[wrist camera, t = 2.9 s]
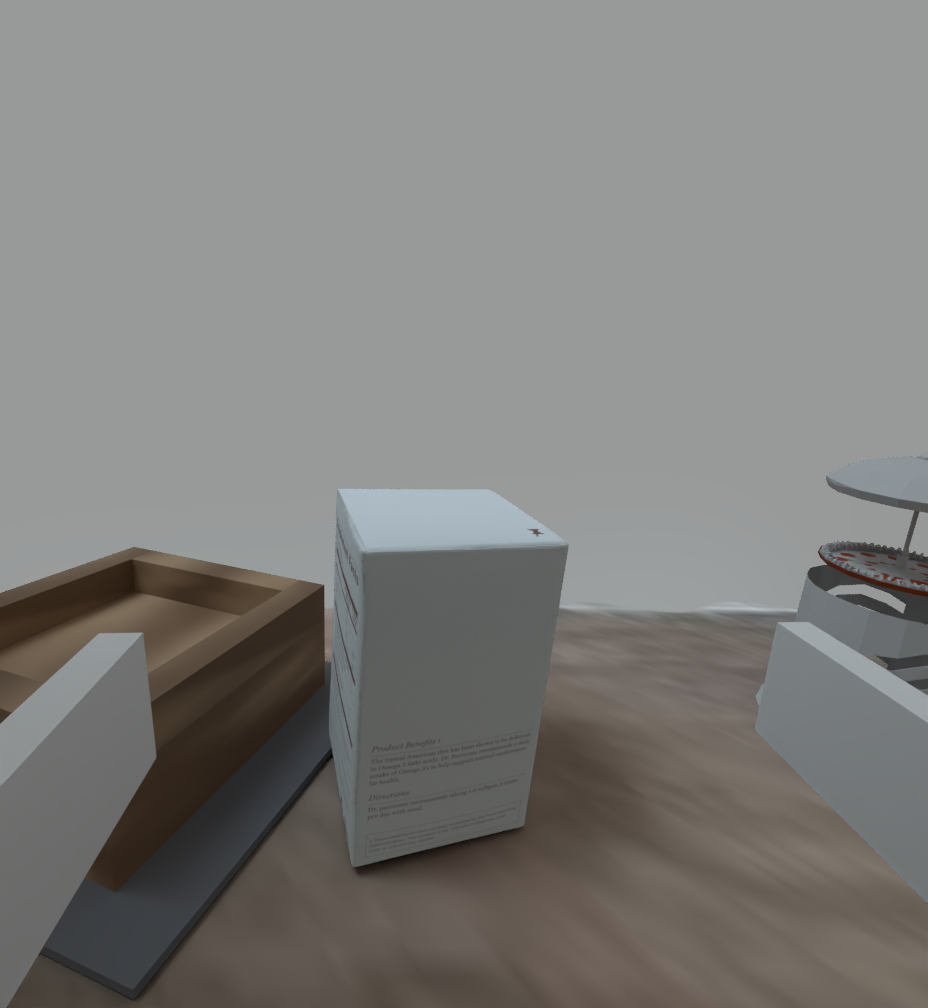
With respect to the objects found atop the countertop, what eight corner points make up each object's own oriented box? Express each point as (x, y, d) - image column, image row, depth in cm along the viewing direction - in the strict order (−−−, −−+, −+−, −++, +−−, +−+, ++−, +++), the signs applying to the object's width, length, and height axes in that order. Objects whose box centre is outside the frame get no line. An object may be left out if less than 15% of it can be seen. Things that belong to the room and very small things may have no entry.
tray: (-133, 784, 22) (-169, 651, 20) (143, 636, 34) (134, 547, 32) (115, 891, 18) (94, 740, 16) (324, 683, 30) (324, 585, 28)
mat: (-250, 807, 21) (-253, 799, 21) (134, 619, 36) (133, 614, 36) (134, 999, 15) (132, 989, 15) (388, 683, 31) (388, 677, 31)
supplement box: (467, 715, 28) (495, 486, 25) (527, 832, 22) (577, 541, 18) (324, 735, 26) (334, 483, 22) (343, 875, 19) (361, 546, 16)
